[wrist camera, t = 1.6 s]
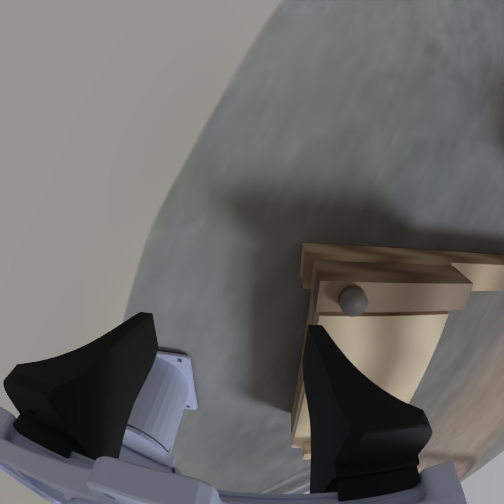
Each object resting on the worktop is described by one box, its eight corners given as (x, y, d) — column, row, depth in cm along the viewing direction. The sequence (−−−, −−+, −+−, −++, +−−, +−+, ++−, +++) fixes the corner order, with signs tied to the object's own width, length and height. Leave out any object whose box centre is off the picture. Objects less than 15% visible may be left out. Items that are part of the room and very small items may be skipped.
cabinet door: (310, 287, 20) (317, 319, 16) (313, 259, 19) (322, 287, 15) (446, 289, 19) (470, 315, 15) (453, 265, 18) (479, 289, 15)
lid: (291, 435, 25) (291, 459, 22) (316, 303, 19) (322, 329, 17) (383, 430, 25) (389, 451, 22) (440, 303, 19) (457, 325, 16)
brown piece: (281, 413, 28) (281, 434, 25) (302, 242, 21) (306, 258, 18) (463, 395, 27) (472, 411, 24) (524, 256, 20) (541, 268, 17)
